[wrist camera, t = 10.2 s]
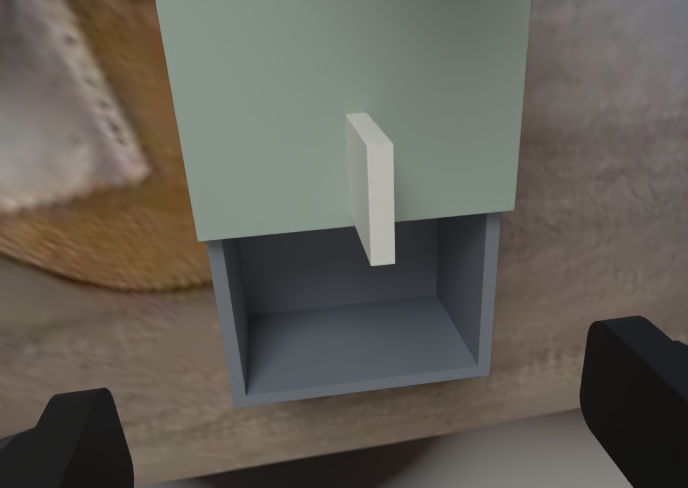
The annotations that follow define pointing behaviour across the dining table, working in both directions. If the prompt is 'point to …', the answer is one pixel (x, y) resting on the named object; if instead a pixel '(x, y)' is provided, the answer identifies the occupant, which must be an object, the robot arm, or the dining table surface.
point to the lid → (345, 112)
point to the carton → (355, 308)
